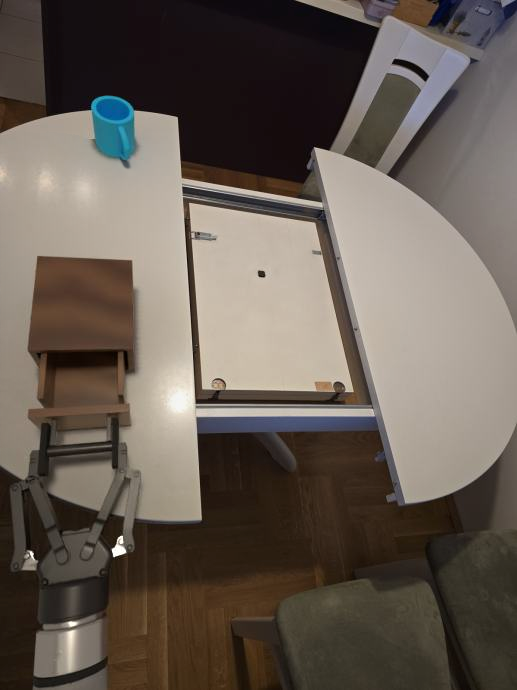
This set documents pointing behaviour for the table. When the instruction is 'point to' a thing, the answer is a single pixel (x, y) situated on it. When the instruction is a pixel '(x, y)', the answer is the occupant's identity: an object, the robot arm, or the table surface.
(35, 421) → the drawer
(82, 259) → the cabinet
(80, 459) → the table surface
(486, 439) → the table surface
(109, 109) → the mug
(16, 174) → the table surface
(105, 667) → the robot arm
